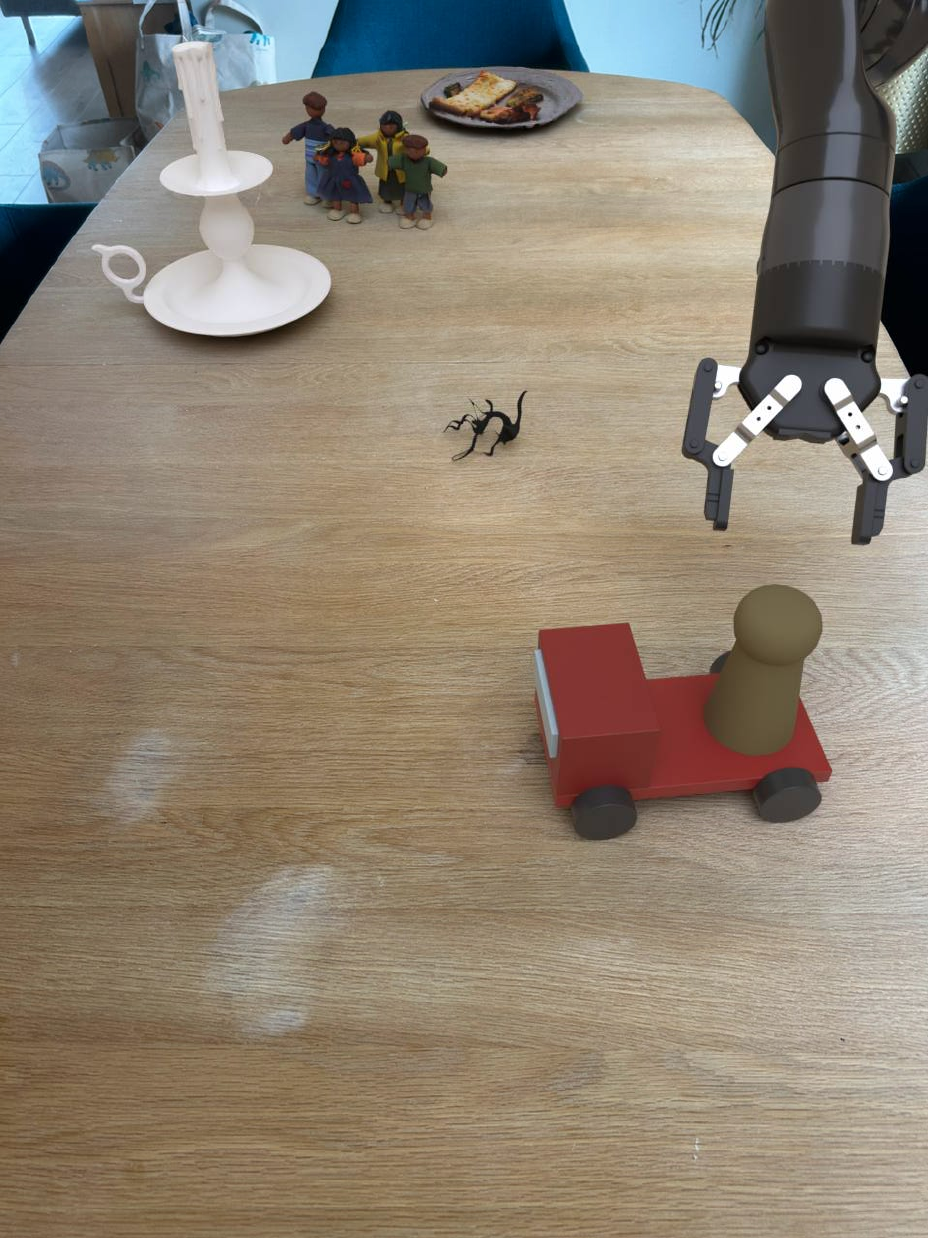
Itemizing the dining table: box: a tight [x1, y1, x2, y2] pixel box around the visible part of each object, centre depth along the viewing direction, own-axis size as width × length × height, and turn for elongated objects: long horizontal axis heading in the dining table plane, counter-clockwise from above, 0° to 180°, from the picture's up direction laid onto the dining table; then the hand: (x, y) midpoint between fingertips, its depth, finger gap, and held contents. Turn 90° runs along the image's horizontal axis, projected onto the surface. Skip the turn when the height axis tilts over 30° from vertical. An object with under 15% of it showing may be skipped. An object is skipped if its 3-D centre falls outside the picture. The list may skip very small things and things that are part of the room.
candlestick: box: [91, 35, 332, 338], centre depth 103 cm, size 21×25×28 cm
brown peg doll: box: [703, 583, 824, 756], centre depth 63 cm, size 6×6×11 cm
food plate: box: [420, 66, 584, 131], centre depth 155 cm, size 25×23×4 cm
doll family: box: [281, 90, 448, 230], centre depth 127 cm, size 23×9×13 cm, turn 80°
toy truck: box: [532, 622, 833, 841], centre depth 66 cm, size 18×12×9 cm, turn 96°
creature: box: [442, 390, 528, 462], centre depth 93 cm, size 8×5×8 cm
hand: (789, 537), depth 62 cm, fingers open, 8 cm apart
